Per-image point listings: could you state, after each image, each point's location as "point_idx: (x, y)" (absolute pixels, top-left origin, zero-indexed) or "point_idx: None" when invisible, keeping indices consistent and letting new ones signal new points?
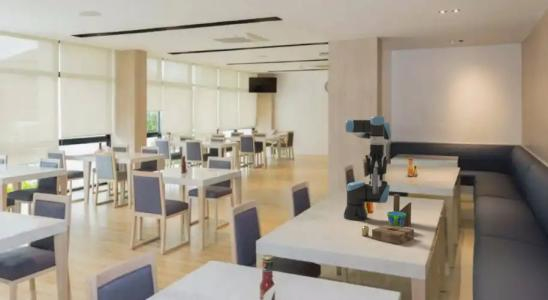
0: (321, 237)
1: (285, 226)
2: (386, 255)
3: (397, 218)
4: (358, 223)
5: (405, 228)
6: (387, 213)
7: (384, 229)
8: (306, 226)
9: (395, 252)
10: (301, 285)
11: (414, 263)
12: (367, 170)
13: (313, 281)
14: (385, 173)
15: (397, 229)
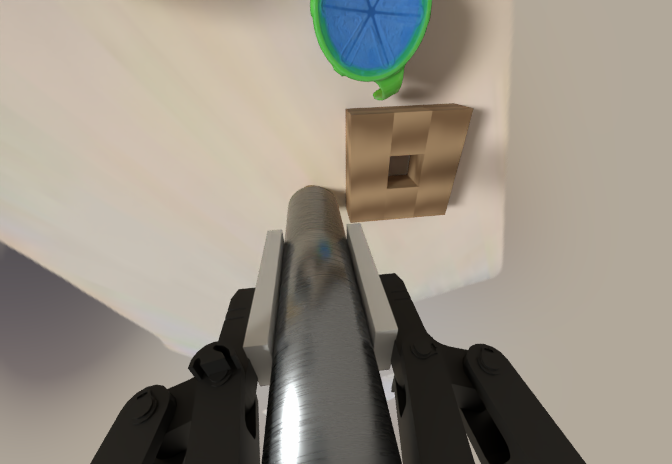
0: (247, 283)
1: (81, 283)
2: (430, 277)
3: (400, 85)
4: (132, 30)
5: (439, 120)
6: (330, 60)
7: (380, 193)
8: (105, 242)
9: (440, 253)
10: (387, 388)
11: (487, 276)
12: (168, 460)
13: (390, 379)
14: (487, 353)
15: (415, 154)
